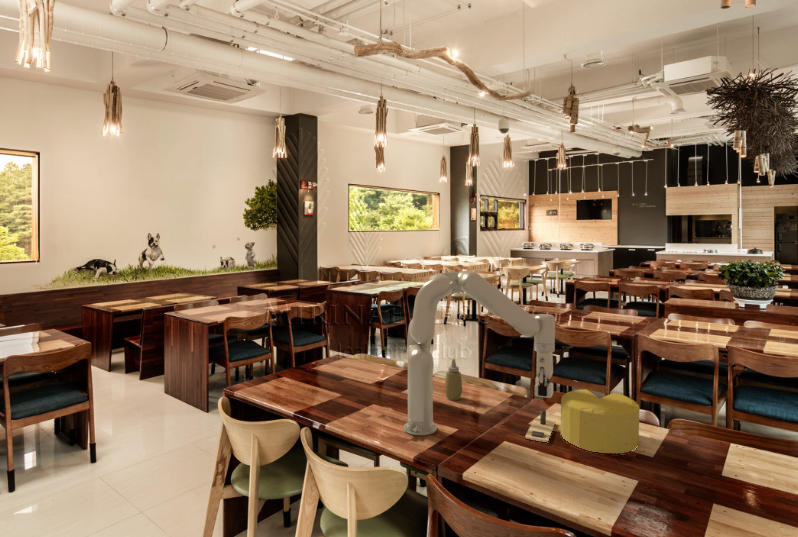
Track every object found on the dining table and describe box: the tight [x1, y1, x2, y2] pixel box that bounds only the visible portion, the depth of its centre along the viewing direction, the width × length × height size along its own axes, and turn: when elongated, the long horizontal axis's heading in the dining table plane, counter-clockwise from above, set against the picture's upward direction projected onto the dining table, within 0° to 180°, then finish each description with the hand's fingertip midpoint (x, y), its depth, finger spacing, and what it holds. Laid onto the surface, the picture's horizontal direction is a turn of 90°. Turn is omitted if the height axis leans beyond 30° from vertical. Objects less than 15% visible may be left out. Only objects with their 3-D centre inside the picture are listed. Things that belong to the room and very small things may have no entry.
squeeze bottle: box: [444, 358, 463, 401], centre depth 220 cm, size 8×8×18 cm
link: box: [534, 380, 554, 399], centre depth 187 cm, size 6×6×4 cm
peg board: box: [524, 409, 556, 444], centre depth 183 cm, size 20×8×6 cm, turn 155°
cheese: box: [560, 388, 640, 454], centre depth 176 cm, size 26×26×15 cm
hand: (543, 392), depth 187 cm, fingers closed on link, 6 cm apart
